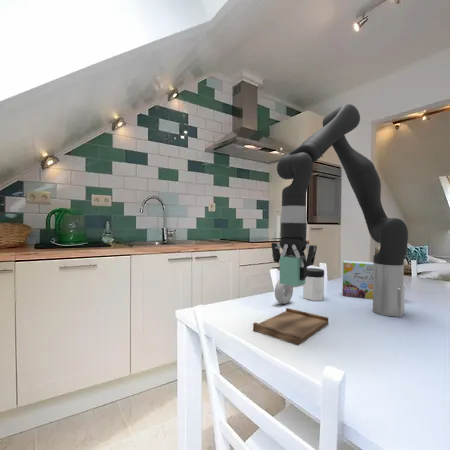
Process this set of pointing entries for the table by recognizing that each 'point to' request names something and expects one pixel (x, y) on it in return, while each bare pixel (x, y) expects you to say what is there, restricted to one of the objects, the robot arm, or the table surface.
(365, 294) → the snack box
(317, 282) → the jar
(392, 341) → the table surface
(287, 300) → the donut
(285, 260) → the block
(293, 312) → the board
